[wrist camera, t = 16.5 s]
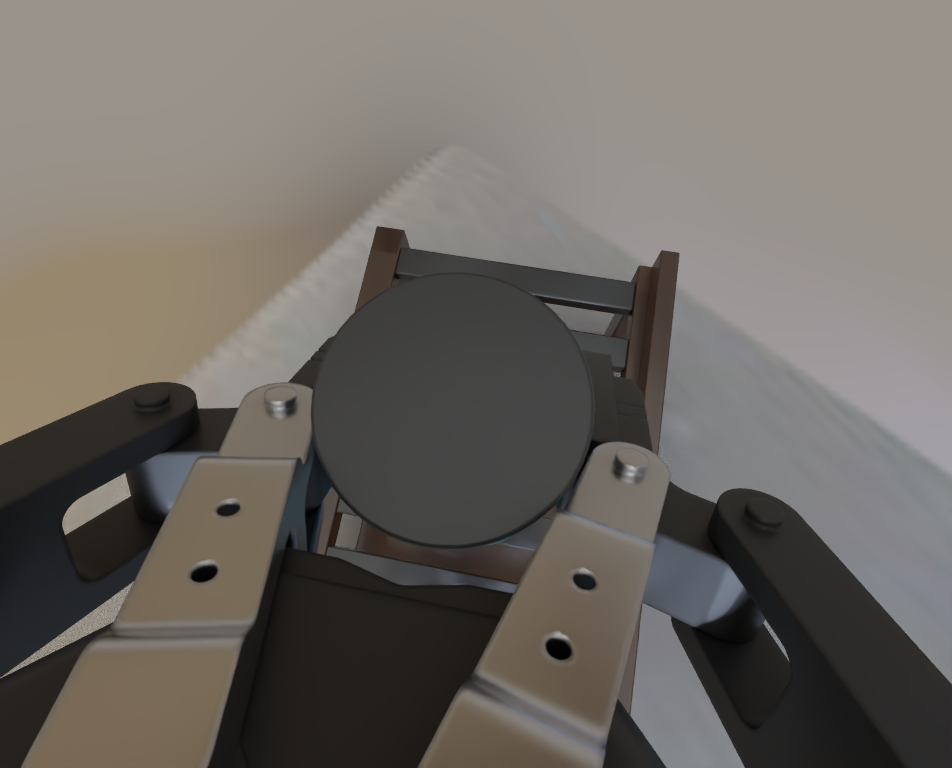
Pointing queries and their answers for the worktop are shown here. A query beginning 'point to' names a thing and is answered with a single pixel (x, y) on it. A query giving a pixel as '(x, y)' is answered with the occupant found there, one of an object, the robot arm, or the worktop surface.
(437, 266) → the rack
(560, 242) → the worktop surface
